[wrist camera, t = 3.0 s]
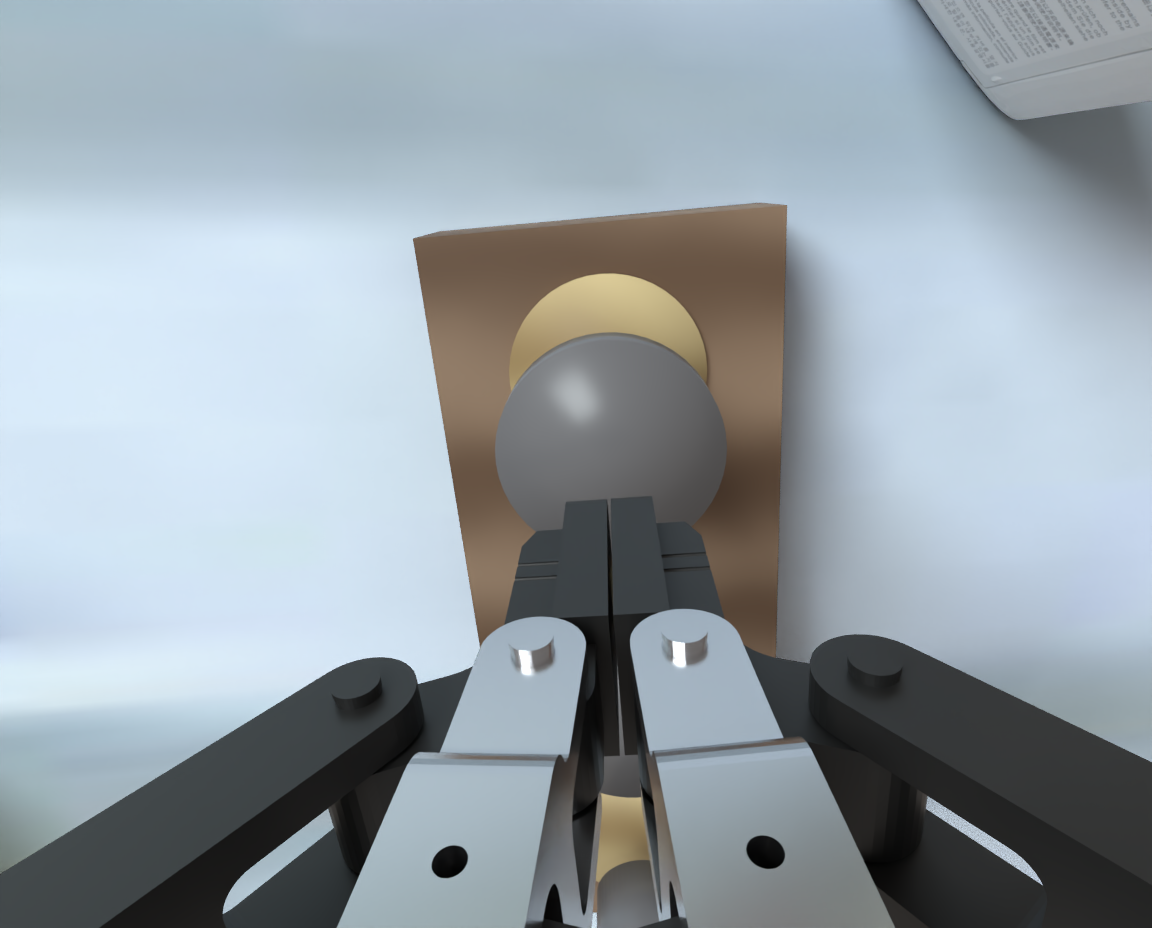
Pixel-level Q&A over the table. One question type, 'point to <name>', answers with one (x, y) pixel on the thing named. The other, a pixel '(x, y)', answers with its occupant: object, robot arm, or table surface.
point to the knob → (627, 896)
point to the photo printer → (1051, 51)
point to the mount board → (634, 306)
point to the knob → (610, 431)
